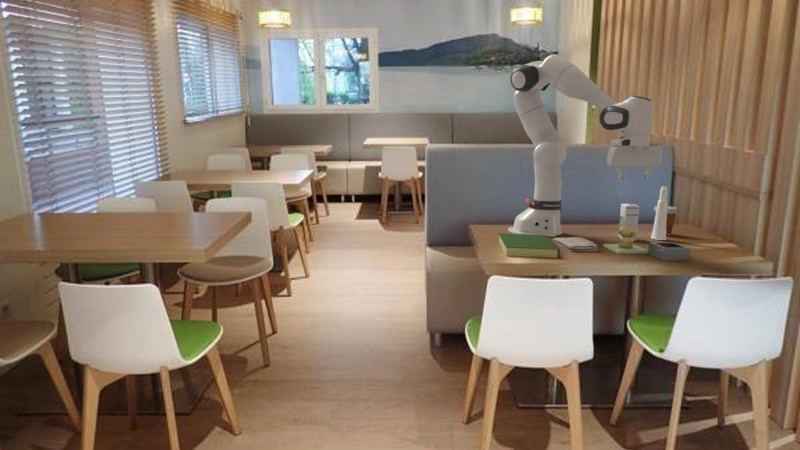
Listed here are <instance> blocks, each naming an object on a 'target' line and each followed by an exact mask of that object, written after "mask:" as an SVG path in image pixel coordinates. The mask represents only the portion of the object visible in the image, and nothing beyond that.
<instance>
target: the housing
mask: <svg viewBox="0 0 800 450" xmlns="http://www.w3.org/2000/svg"><path fill="white" fill-rule="evenodd" d="M647 250H648V254H647V255H649V256H651V257H652V258H655V259H658V260H661V261H663V262H672V261H673V262H682V261H683V262H684V261H685V262H686V261H687V262H690V260H691V253H692V247H688V246H686V245H683V244H680V243H677V242H675V241H672V242H671V241H669V242H668V241H665V242H664V241H658V242H657V241H655V242H653V241H652V242H651V241H650V242H648V248H647Z"/></svg>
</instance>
